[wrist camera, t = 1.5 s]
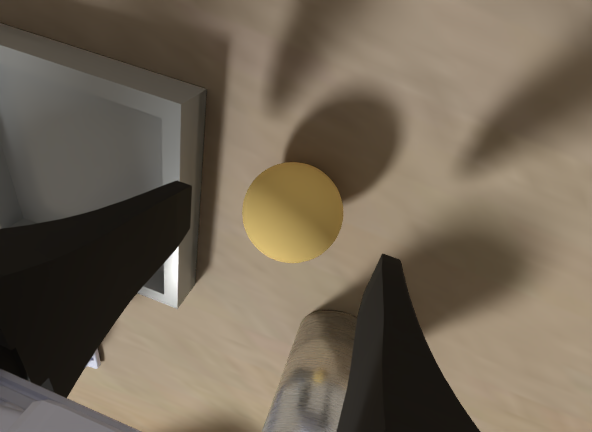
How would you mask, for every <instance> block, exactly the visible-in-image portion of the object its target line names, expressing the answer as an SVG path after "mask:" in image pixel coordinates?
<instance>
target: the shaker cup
mask: <svg viewBox="0 0 592 432" xmlns="http://www.w3.org/2000/svg"><path fill="white" fill-rule="evenodd" d="M356 323H357V317H355V316H352V315H350V314H347V313H344V312H340V311H334V310H322V311H317V312H313V313H311V314H309V315H308V316H306V317H305V318H304V319H303V320H302V322H301V324H300V327H299V329H298V332H297V335H296V338H295V341H294V343H293V346H292V349H291V352H290V354H289V357H288V360H287V363H286V366H285V368H284V371H283V374H282V377H281V380H280V382H279V385H278V388H277V391H276V393H275V396H274V399H273V402H272V405H271V407H270V410H269V413H268V416H267V418H266V421H265V424H264V427H263V430H262V432H336V431H337V427H338V423H339V419H340V415H341V411H342V407H343V402H344V398H345V394H346V390H347V385H348V380H349V374H350V366H351V359H352V352H353V344H354V337H355V330H356Z"/></svg>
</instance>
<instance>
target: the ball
mask: <svg viewBox="0 0 592 432" xmlns="http://www.w3.org/2000/svg"><path fill="white" fill-rule="evenodd" d="M242 215H243V223H244V227H245V230H246V232H247V235H248V237H249V238H250V240H251V241H252V243H253V244H254V245H255V246H256V248H257V249H258V250H260V251H261V252H262V253H263V254H265V255H266V256H268V257H270V258H272V259H274V260H277V261H281V262H286V263H300V262H304V261H309V260H311V259H314V258H316V257H317V256H319V255H321V254H322V253H323V252H325V251H326V250H327V249H328V248H329V247H330V246H331V245H332V244H333V242H334V241H335V239H336V238H337V236H338V234H339V231H340V229H341V225H342V221H343V204H342V200H341V196H340V194H339V191H338V189H337V187H336V186H335V184H334V183H333V182H332V180H331V179H330V178H329V177H328V176H327V175H326V174H325V173H323V172H322V171H321V170H319V169H317V168H315V167H313V166H311V165H308V164H304V163H298V162H287V163H282V164H278V165H275V166H272V167H270V168H268V169H267V170H265V171H264V172H262V173H261V174H260V175H259V176H258V177H257V178H256V179H255V180H254V181H253V182H252V184H251V185H250V187H249V189H248V190H247V193H246V195H245V198H244V202H243V210H242Z"/></svg>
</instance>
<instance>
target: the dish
mask: <svg viewBox="0 0 592 432" xmlns="http://www.w3.org/2000/svg"><path fill="white" fill-rule="evenodd" d="M206 93H207V89H205V88H202V87H198V86H195V85H192V84H189V83H186V82H183V81H180V80H177V79H173V78H170V77H167V76H164V75H161V74H158V73H155V72H152V71H148V70H145V69H142V68H139V67H136V66H133V65H130V64H127V63H124V62H120V61H117V60H114V59H111V58H108V57H105V56H102V55H99V54H95V53H92V52H89V51H86V50H83V49H80V48H77V47H74V46H70V45H67V44H64V43H61V42H58V41H55V40H52V39H49V38H45V37H42V36H39V35H36V34H33V33H30V32H27V31H24V30H21V29H17V28H14V27H11V26H8V25H5V24H2V23H0V229H2V228H10V227H18V226H25V225H31V224H37V223H42V222H47V221H53V220H58V219H63V218H67V217H71V216H75V215H79V214H83V213H87V212H90V211H94V210H97V209H100V208H103V207H106V206H109V205H112V204H115V203H118V202H121V201H124V200H127V199H129V198H132V197H135V196H137V195H140V194H142V193H145V192H148V191H150V190H153V189H155V188H158V187H160V186H163V185H165V184H168V183H171V182H174V181H180V182H183V183H186V184H189V185H191V186H192V199H191V224H190V229H189V231H188V233H187V234H186V236H185V237H184V239H183V240H182V242H181V243H180V245H179V246H178V247H177V249H176V250H175V251H174V252H173V254H172V255H171V256H170V257H169V258H168V259H167V260H166V261H165V263H164V264H163V265H162V266H161V267H160V268H159V269H158V270H157V271H156V273H155V274H154V275H153V276H152V277H151V278H150V279H149V280H148V281H147V283H146V284H145V285H144V286H143V287H142V288H141V289H140V290H139V291H138V294H141V295H143V296H146V297H148V298H151V299H153V300H156V301H158V302H161V303H164V304H166V305H169V306H171V307H174V308H176V309H178V307H179V306H180V305H181V303H182V302H183V301H184V299H185V298H186V296H187V295H188V294H189V292H190V291H191V289H192V288H193V287H194V285H195V279H196V262H197V245H198V228H199V211H200V194H201V178H202V161H203V144H204V127H205V110H206Z"/></svg>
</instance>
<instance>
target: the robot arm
mask: <svg viewBox="0 0 592 432" xmlns="http://www.w3.org/2000/svg"><path fill="white" fill-rule="evenodd" d="M191 199H192V186H191V185H189V184H186V183H183V182H180V181H174V182H171V183H168V184H165V185H163V186H160V187H158V188H155V189H153V190H150V191H148V192H145V193H142V194H140V195H137V196H135V197H132V198H129V199H127V200H124V201H121V202H118V203H115V204H112V205H109V206H106V207H103V208H100V209H97V210H94V211H90V212H87V213H83V214H79V215H75V216H71V217H67V218H63V219H58V220H53V221H47V222H42V223H37V224H31V225H25V226H18V227H10V228H2V229H0V432H141V431H139V430H137V429H134V428H132V427H130V426H128V425H125V424H123V423H121V422H119V421H116V420H114V419H112V418H110V417H107V416H105V415H103V414H101V413H99V412H96V411H94V410H92V409H90V408H87V407H85V406H83V405H81V404H78V403H76V402H74V401H72V400H69V399H67V397H68V395H69V393H70V392H71V390H72V388H73V387H74V385H75V383H76V382H77V380H78V378H79V377H80V375H81V373H82V372H83V370H84V369H85V367H86V366H90V367H92V368H95V369H97V368H99V366H100V365H101V362H100V358H99V353H98V347H99V345H100V344H101V342H102V341H103V339H104V338H105V336H106V335H107V333H108V332H109V330H110V329H111V328H112V326H113V325H114V323H115V322H116V320H117V319H118V318H119V316H120V315H121V313H122V312H123V311H124V309H125V308H126V307H127V305H128V304H129V302H130V301H131V300H132V299H133V297H134V296H135V295H136V294H137V293H138V291H139V290H140V289H141V288H142V287H143V286H144V285H145V284H146V283H147V281H148V280H149V279H150V278H151V277H152V276H153V275H154V274H155V273H156V271H157V270H158V269H159V268H160V267H161V266H162V265H163V264H164V263H165V261H166V260H167V259H168V258H169V257H170V256H171V255H172V254H173V252H174V251H175V250H176V249H177V247H178V246H179V245H180V243H181V242H182V240H183V239H184V237H185V236H186V234H187V233H188V231H189V229H190V224H191ZM336 432H480V431H479V429H478V428H477V427H476V425H475V424H474V422H473V421H472V420H471V418H470V417H469V415H468V414H467V412H466V411H465V409H464V408H463V407H462V405H461V404H460V402H459V400H458V399H457V397H456V396H455V394H454V392H453V391H452V389H451V387H450V386H449V384H448V382H447V381H446V379H445V378H444V376H443V374H442V372H441V370H440V368H439V367H438V365H437V363H436V361H435V359H434V357H433V355H432V353H431V351H430V349H429V346H428V344H427V342H426V340H425V337H424V335H423V332H422V330H421V327H420V325H419V322H418V320H417V317H416V314H415V311H414V308H413V305H412V302H411V299H410V296H409V292H408V289H407V285H406V281H405V277H404V273H403V269H402V264H401V261H400V260H399V259H396V258H394V257H391V256H388V255H385V254H382V255H381V257H380V260H379V262H378V264H377V266H376V268H375V270H374V272H373V274H372V277H371V279H370V281H369V283H368V285H367V287H366V289H365V291H364V294H363V298H362V302H361V305H360V309H359V313H358V317H357V323H356V330H355V337H354V344H353V352H352V359H351V366H350V374H349V380H348V385H347V390H346V394H345V398H344V402H343V407H342V411H341V415H340V419H339V423H338V427H337V431H336Z"/></svg>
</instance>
